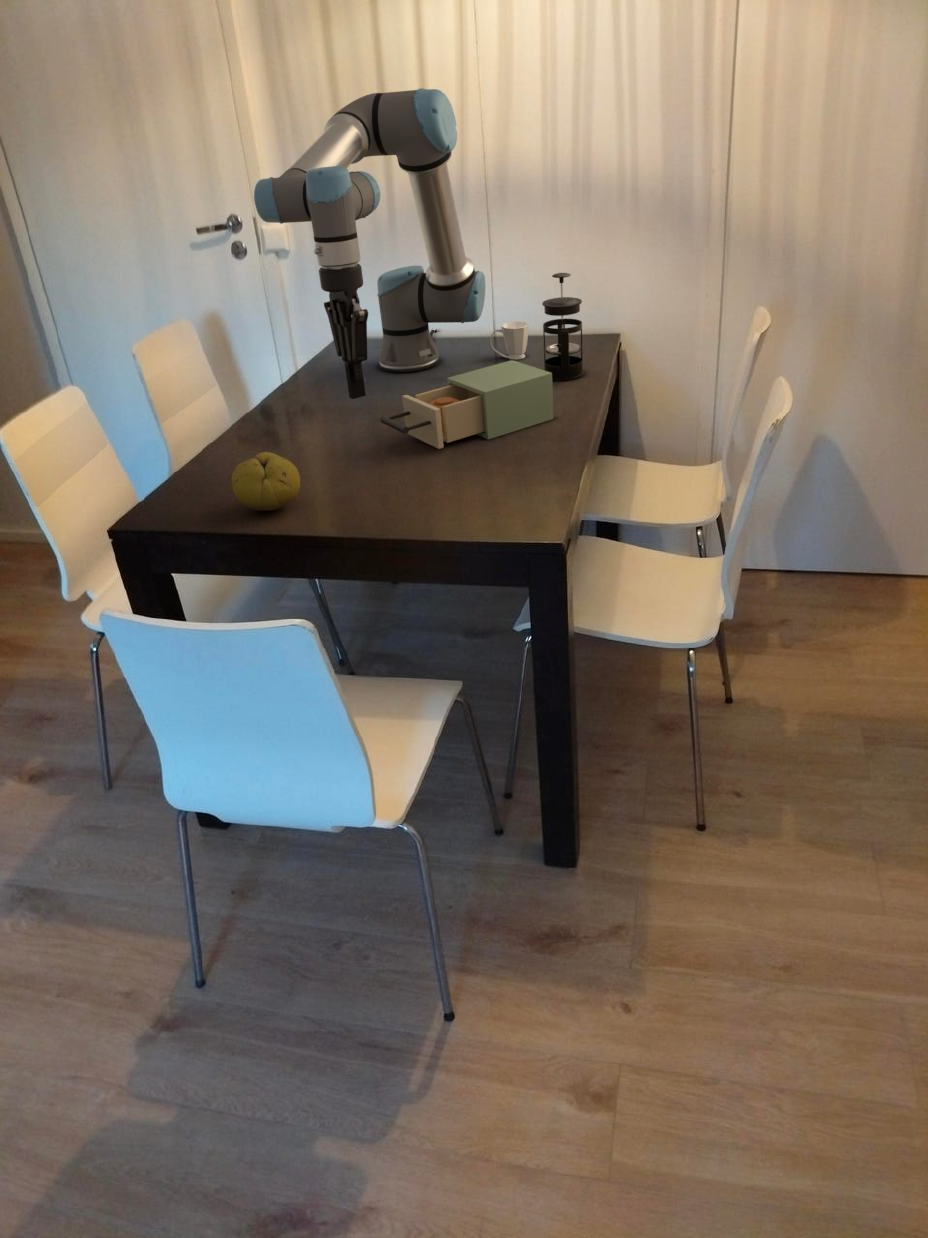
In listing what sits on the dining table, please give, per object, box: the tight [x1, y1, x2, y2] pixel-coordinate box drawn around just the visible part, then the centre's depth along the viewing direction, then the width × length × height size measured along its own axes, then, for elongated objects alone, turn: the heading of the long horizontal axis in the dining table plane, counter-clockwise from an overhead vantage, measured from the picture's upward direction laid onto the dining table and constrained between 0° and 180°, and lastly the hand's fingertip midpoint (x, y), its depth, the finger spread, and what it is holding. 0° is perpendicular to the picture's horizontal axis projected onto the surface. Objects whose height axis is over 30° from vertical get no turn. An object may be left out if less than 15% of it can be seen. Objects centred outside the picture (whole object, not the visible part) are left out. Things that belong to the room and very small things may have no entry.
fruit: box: [231, 451, 301, 512], centre depth 164 cm, size 11×12×10 cm
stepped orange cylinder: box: [430, 397, 459, 434], centre depth 188 cm, size 7×7×6 cm
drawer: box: [379, 384, 485, 450], centre depth 188 cm, size 22×13×8 cm, turn 124°
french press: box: [541, 272, 585, 382], centre depth 215 cm, size 12×9×23 cm
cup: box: [489, 321, 530, 361], centre depth 235 cm, size 7×10×8 cm
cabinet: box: [446, 359, 554, 440], centre depth 194 cm, size 17×14×10 cm
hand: (357, 396), depth 175 cm, fingers closed
